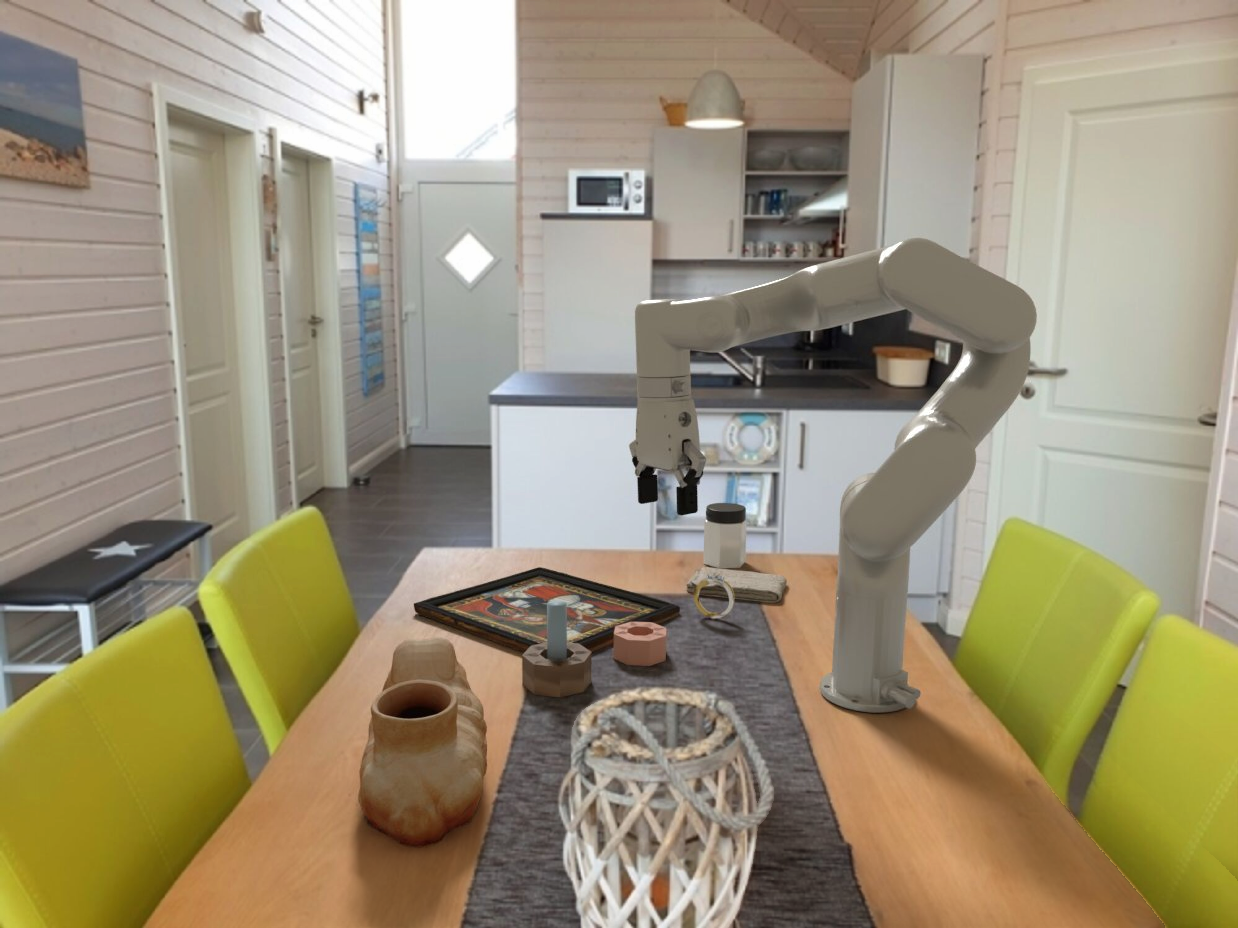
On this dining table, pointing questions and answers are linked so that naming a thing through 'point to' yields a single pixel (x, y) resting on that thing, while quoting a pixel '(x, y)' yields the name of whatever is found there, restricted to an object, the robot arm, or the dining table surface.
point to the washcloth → (740, 584)
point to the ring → (714, 580)
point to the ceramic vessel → (423, 746)
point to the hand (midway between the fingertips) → (667, 507)
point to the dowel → (556, 630)
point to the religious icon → (543, 609)
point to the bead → (556, 671)
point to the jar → (725, 535)
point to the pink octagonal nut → (640, 643)
